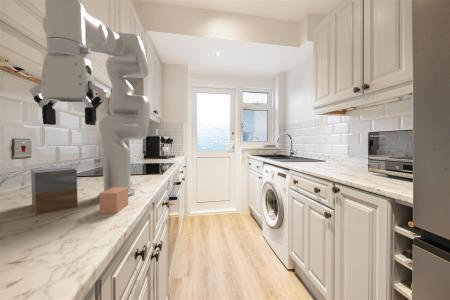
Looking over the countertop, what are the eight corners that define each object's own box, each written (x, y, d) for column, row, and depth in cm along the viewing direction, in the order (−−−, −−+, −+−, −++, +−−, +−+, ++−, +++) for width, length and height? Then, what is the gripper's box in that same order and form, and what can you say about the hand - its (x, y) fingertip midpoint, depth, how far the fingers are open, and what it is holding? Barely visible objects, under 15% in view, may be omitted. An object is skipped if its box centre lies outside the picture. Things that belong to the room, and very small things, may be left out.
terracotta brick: (112, 205, 69) (112, 187, 69) (128, 205, 70) (128, 187, 69) (99, 213, 61) (99, 193, 61) (117, 213, 62) (116, 193, 61)
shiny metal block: (32, 204, 70) (30, 168, 69) (68, 198, 77) (67, 166, 77) (36, 214, 60) (34, 173, 60) (77, 206, 67) (76, 169, 67)
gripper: (112, 59, 54) (114, 125, 55) (43, 58, 53) (46, 125, 54) (95, 46, 46) (97, 123, 47) (14, 45, 46) (18, 123, 47)
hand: (70, 124), depth 51 cm, fingers open, 9 cm apart
